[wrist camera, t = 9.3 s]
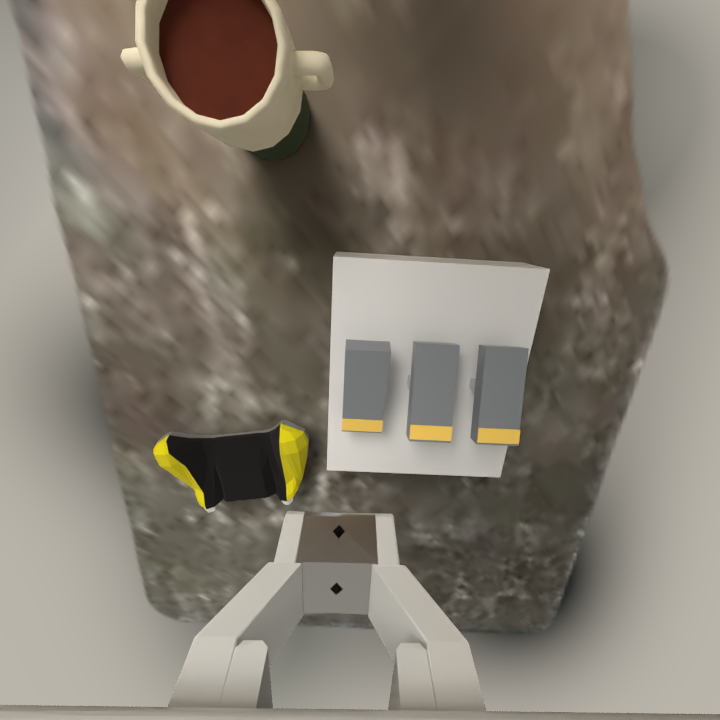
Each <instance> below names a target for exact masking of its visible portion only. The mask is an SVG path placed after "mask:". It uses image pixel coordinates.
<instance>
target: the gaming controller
mask: <svg viewBox="0 0 720 720" xmlns="http://www.w3.org/2000/svg"><path fill="white" fill-rule="evenodd" d="M309 438H310V436H309V434H308V432H307V430H306V429H305V428H303V427H301V426H299V425H296V424H294V423H292V422H290V421H287V420H281V421H280V422H279V423H278V424H276V425H275V426H274V427H272V428H271V429H267V430H260V431H251V432H241V433H232V434H222V435H200V434H190V433H180V432H169V433H167V434H165V435H164V436H163V437H162V438H160V439H159V440H158V442H157V444H156V446H155V447H154V449H153V451H154V456H155V458H156V459H157V461H158V463H159V465H160V466H161V467H162V468H164V469H165V470H167V471H168V472H170V473H171V474H173V475H174V476H176V477H177V478H179V479H180V480H182V481H183V482H184V483H186V484H187V485H189V486H190V487H192V488H193V489H194V490H195V494H196V497H197V500H198V502H199V504H200V506H202V507H204V509H205V510H206V511H208V512H213V511H215V509H216V507H217V505H218V503H219V502H220V501H221V500H222V499H225V501H235V500H246V499H256V498H266V497H269V496H271V495H273V494H277V495H278V497H279V499H280V500H281V501H282V502H283V504H286V505H289V504H290V503H291V502H292V501H293V496H294V495H295V493H296V492H297V490H298V488H299V485H300V483H301V481H302V478H303V474H304V469H305V465H306V461H307V457H308V448H309Z"/></svg>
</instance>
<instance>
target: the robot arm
mask: <svg viewBox="0 0 720 720" xmlns="http://www.w3.org/2000/svg"><path fill="white" fill-rule="evenodd" d="M303 613H347V614H367V615H368V617H369V619H370V621H371V623H372V624H373V626H374V628H375V630H376V632H377V634H378V635H379V637H380V639H381V641H382V643H383V645H384V646H385V648H386V650H387V652H388V654H389V656H390V658H391V659H392V661H393V663H394V670H393V677H392V685H391V692H390V700H389V707H388V710H353V709H352V710H350V709H347V710H346V709H273V704H272V691H271V679H270V667H269V666H270V665H271V663H272V662H273V660H274V659H275V657H276V656H277V654H278V653H279V651H280V650H281V648H282V647H283V645H284V643H285V642H286V641H287V639H288V638H289V636H290V635H291V633H292V632H293V630H294V629H295V627H296V626H297V624H298V623H299V621H300V620H301V618H302V617H303ZM0 720H720V714H648V713H647V714H645V713H572V712H571V713H570V712H496V711H494V712H492V711H486V708H485V704H484V700H483V697H482V692H481V689H480V685H479V681H478V677H477V673H476V670H475V666H474V662H473V658H472V654H471V650H470V647H469V643H468V642H467V640H466V639H465V638H464V637H463V635H462V634H461V633H460V632H459V630H458V629H457V628H456V627H455V626H454V624H453V623H452V622H451V621H450V619H449V618H448V617H447V616H446V615H445V613H444V612H443V611H442V610H441V609H440V607H439V606H438V605H437V604H436V602H435V601H434V600H433V599H432V598H431V596H430V595H429V594H428V593H427V591H426V590H425V589H424V588H423V587H422V585H421V584H420V583H419V582H418V580H417V579H416V578H415V577H414V576H413V574H412V573H411V572H410V571H409V569H408V568H407V567H406V566H405V565H400V563H399V555H398V547H397V539H396V531H395V523H394V516H393V515H392V514H376V513H375V514H374V513H325V512H306V511H305V512H299V511H287V513H286V515H285V518H284V522H283V526H282V530H281V535H280V539H279V543H278V547H277V551H276V556H275V560H274V562H268V563H267V564H266V565H265V566H264V567H263V568H262V569H261V570H260V571H259V572H258V573H257V574H256V575H255V576H254V577H253V578H252V579H251V580H250V581H249V582H248V583H247V584H246V586H245V587H244V588H243V589H242V590H241V591H240V592H239V593H238V594H237V595H236V596H235V597H234V598H233V599H232V600H231V601H230V602H229V603H228V604H227V605H226V606H225V607H224V608H223V609H222V610H221V611H220V612H219V613H218V614H217V615H216V616H215V617H214V618H213V619H212V620H211V621H210V622H209V623H208V624H207V625H206V626H205V627H204V628H203V629H202V630H201V631H200V632H199V633H198V634H197V635H196V636H195V637H194V640H193V643H192V645H191V648H190V651H189V653H188V656H187V658H186V661H185V664H184V666H183V669H182V671H181V674H180V676H179V679H178V682H177V684H176V687H175V689H174V692H173V695H172V697H171V700H170V702H169V705H168V707H118V706H116V707H115V706H41V705H40V706H38V705H36V706H35V705H34V706H33V705H0Z"/></svg>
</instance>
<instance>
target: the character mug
mask: <svg viewBox="0 0 720 720" xmlns="http://www.w3.org/2000/svg"><path fill="white" fill-rule="evenodd" d="M135 42H136V45H137V47H135V48H129V49H123V51H122V54H121V59H122V61H123V62H124V64H125V66H126V67H127V69H128V70H129V71H131V72H132V73H134V74H135V75H137V76H138V77H140V78H141V79H143V80H144V81H146V82H147V83H149V84H151V85H153V86H154V87H155V88H156V90H157V91H158V93H159V94H160V95H161V97H162V98H163V100H164V101H165V102H166V104H167V105H168V106H169V107H170V108H171V109H173V110H174V111H176V112H177V113H178V114H180V115H181V116H182V117H184V118H185V119H187V120H188V121H189V122H191V123H192V124H194V125H195V126H196V127H198V128H200V129H201V130H203V131H205V132H206V133H208V134H210V135H211V136H213V137H215V138H217V139H218V140H220V141H222V142H223V143H225V144H227V145H228V146H232V147H236V148H240V149H244V150H248V151H250V152H252V153H253V154H255V155H257V156H259V157H261V158H263V159H267V160H282V159H284V158H286V157H287V156H289V155H291V154H293V153H295V152H296V151H297V150H298V149H299V147H300V145H301V144H302V142H303V141H304V139H305V138H306V136H307V132H308V126H309V120H310V111H309V106H308V102H307V97H306V94H305V93H304V91H303V90H311V91H322V90H327V89H330V88H331V87H332V84H333V82H334V74H333V67H332V63H331V60H330V58H329V56H328V55H327V54H326V53H322V52H318V51H296V49H295V46H294V43H293V40H292V37H291V34H290V31H289V29H288V26H287V24H286V21H285V18H284V15H283V12H282V11H281V9H280V7H279V5H278V4H277V2H276V0H137V2H136V20H135Z"/></svg>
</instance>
